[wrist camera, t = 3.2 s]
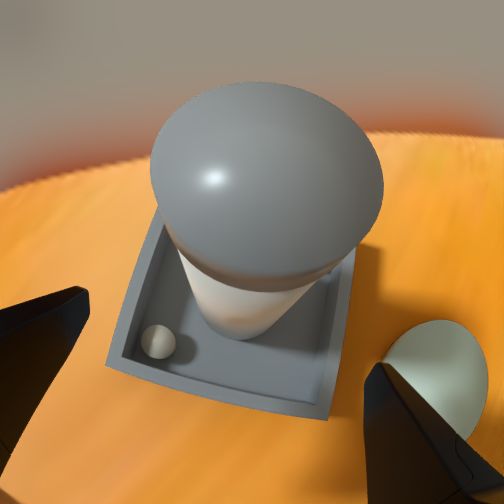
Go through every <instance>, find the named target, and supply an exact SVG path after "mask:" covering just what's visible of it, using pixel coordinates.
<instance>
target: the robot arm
mask: <svg viewBox="0 0 504 504" xmlns="http://www.w3.org/2000/svg"><path fill="white" fill-rule="evenodd" d="M89 315H90V303H89V292H88V290H87V289H85V288H82V287H79V286H73V287H70V288H67V289H64V290H61V291H57V292H54V293H51V294H48V295H45V296H42V297H38V298H35V299H32V300H29V301H26V302H23V303H20V304H17V305H13V306H10V307H7V308H4V309H1V310H0V477H1V474H2V472H3V470H4V468H5V466H6V464H7V462H8V460H9V458H10V456H11V454H12V452H13V450H14V448H15V446H16V444H17V442H18V441H19V439H20V437H21V435H22V433H23V431H24V430H25V428H26V426H27V424H28V422H29V421H30V419H31V417H32V415H33V414H34V412H35V410H36V408H37V407H38V405H39V403H40V401H41V400H42V398H43V396H44V395H45V393H46V391H47V390H48V388H49V387H50V385H51V383H52V382H53V380H54V378H55V377H56V375H57V374H58V372H59V370H60V369H61V367H62V366H63V364H64V363H65V361H66V359H67V358H68V356H69V355H70V353H71V351H72V349H73V347H74V345H75V343H76V341H77V339H78V337H79V335H80V333H81V331H82V329H83V328H84V326H85V324H86V322H87V320H88V318H89ZM363 429H364V442H365V456H366V472H367V495H368V504H504V477H503V476H502V475H501V474H500V473H499V472H498V471H497V470H496V469H494V468H493V467H492V466H491V465H490V464H489V463H488V462H487V461H485V460H484V459H483V458H482V457H481V456H480V455H479V454H478V453H477V452H476V451H475V450H473V449H472V448H471V447H470V446H469V445H468V443H467V442H466V441H465V440H464V439H463V438H462V437H461V436H460V435H459V434H458V433H456V431H455V430H454V429H453V428H452V427H451V426H450V425H449V424H448V423H447V422H446V421H445V420H444V419H443V418H442V416H441V415H440V414H439V413H438V412H437V411H436V410H435V409H434V408H433V407H432V406H431V405H430V404H429V403H428V402H427V401H426V400H425V399H424V398H423V397H422V396H421V395H420V394H419V393H418V392H417V391H416V390H415V389H414V388H413V387H412V386H411V385H410V384H409V383H408V382H407V381H406V380H405V379H404V377H403V376H402V375H401V374H400V373H399V372H398V371H397V370H396V369H395V368H394V367H393V366H392V365H391V364H389V363H384V362H378V363H376V364H375V366H374V367H373V369H372V370H371V372H370V374H369V375H368V377H367V379H366V380H365V383H364V418H363Z"/></svg>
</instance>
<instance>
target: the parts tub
mask: <svg viewBox="0 0 504 504" xmlns="http://www.w3.org/2000/svg"><path fill="white" fill-rule="evenodd" d="M355 252H356V247H355V248H354V249H353V250H352V251H351V252H350V253H349V254H348V255H347V256H346V257H345V258H344V259H343V260H342V261H341V262H340V263H339V264H338V265H337V266H336V267H335V268H334V269H332V270H331V271H330V272H329V273H328V274H326V275H325V276H323V277H321V278H320V279H318V280H317V281H316V282H315V283H314V284H313V285H312V286H311V287H310V288H309V289H308V290H307V291H306V292H305V293H304V294H303V295H302V296H301V297H300V298H299V299H298V300H297V301H296V302H295V303H294V304H293V305H292V306H291V307H290V308H289V309H288V310H287V311H286V312H285V313H284V314H283V315H282V316H281V317H280V318H279V319H278V320H277V321H276V322H275V323H274V324H273V325H272V326H271V327H270V328H269V329H268V330H267V331H265V332H264V333H263V334H261V335H259V336H257V337H254V338H251V339H247V340H233V339H229V338H225V337H223V336H221V335H219V334H217V333H216V332H214V331H213V330H212V329H211V328H210V327H209V326H208V325H207V324H206V322H205V321H204V319H203V317H202V315H201V313H200V310H199V307H198V305H197V302H196V299H195V297H194V294H193V291H192V289H191V286H190V283H189V280H188V278H187V275H186V272H185V269H184V266H183V263H182V261H181V258H180V255H179V252H178V249H177V247H176V246H175V244H174V243H173V241H172V239H171V237H170V235H169V233H168V231H167V229H166V226H165V223H164V220H163V217H162V215H161V212H160V209H159V206H158V207H157V210H156V212H155V215H154V217H153V220H152V222H151V225H150V227H149V230H148V233H147V235H146V238H145V241H144V243H143V246H142V249H141V252H140V254H139V257H138V260H137V263H136V266H135V269H134V271H133V274H132V277H131V280H130V283H129V286H128V289H127V292H126V295H125V299H124V302H123V305H122V308H121V311H120V315H119V318H118V321H117V325H116V328H115V331H114V335H113V338H112V342H111V346H110V349H109V353H108V357H107V360H106V364H105V366H107V367H110V368H113V369H115V370H118V371H121V372H123V373H126V374H129V375H132V376H135V377H137V378H140V379H143V380H146V381H149V382H152V383H156V384H159V385H162V386H165V387H168V388H172V389H175V390H178V391H182V392H185V393H189V394H193V395H196V396H200V397H204V398H208V399H212V400H216V401H220V402H224V403H228V404H233V405H237V406H242V407H246V408H251V409H256V410H261V411H266V412H272V413H277V414H283V415H289V416H296V417H302V418H309V419H317V420H325V421H328V416H329V412H330V408H331V403H332V399H333V394H334V389H335V384H336V379H337V374H338V369H339V364H340V359H341V353H342V347H343V342H344V336H345V329H346V323H347V317H348V310H349V303H350V295H351V288H352V280H353V271H354V262H355Z"/></svg>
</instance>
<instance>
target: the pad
mask: <svg viewBox="0 0 504 504" xmlns="http://www.w3.org/2000/svg"><path fill="white" fill-rule="evenodd" d="M381 362H384V363H389V364H391V365H392V366H393V367H394V368H395V369H396V370H397V371H398V372H399V373H400V374H401V375H402V376H403V377H404V379H405V380H406V381H407V382H408V383H409V384H410V385H411V386H412V387H413V388H414V389H415V390H416V391H417V392H418V393H419V394H420V395H421V396H422V397H423V398H424V399H425V400H426V401H427V402H428V403H429V404H430V405H431V406H432V407H433V408H434V409H435V410H436V411H437V412H438V413H439V414H440V415H441V416H442V418H443V419H444V420H445V421H446V422H447V423H448V424H449V425H450V426H451V427H452V428H453V429H454V430H455V431H456V433H458V434H459V435H460V436H461V437H462V438H463V439H464V440H465V441H466V440H467V439H468V438H469V436H470V435H471V433H472V432H473V430H474V429H475V427H476V425H477V423H478V421H479V419H480V417H481V414H482V412H483V409H484V405H485V402H486V396H487V389H488V373H487V365H486V361H485V357H484V354H483V351H482V349H481V347H480V345H479V343H478V342H477V340H476V339H475V337H474V336H473V335H472V334H471V333H470V332H469V331H468V330H467V329H466V328H465V327H463V326H462V325H460V324H458V323H456V322H453V321H449V320H433V321H429V322H426V323H423V324H419V325H417V326H415V327H413V328H411V329H409V330H408V331H406V332H405V333H404V334H402V335H401V336H400V337H399V338H398V339H397V340H396V341H395V342H394V343H393V344H392V346H391V347H390V348H389V350H388V351H387V353H386V354H385V356H384V358H383V359H382V361H381Z"/></svg>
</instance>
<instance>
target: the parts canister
mask: <svg viewBox="0 0 504 504" xmlns="http://www.w3.org/2000/svg"><path fill="white" fill-rule="evenodd" d="M150 175H151V183H152V187H153V190H154V194H155V197H156V200H157V203H158V206H159V209H160V212H161V215H162V217H163V220H164V223H165V226H166V229H167V231H168V233H169V235H170V237H171V239H172V241H173V243H174V244H175V246H176V247H177V249H178V252H179V255H180V258H181V261H182V263H183V266H184V269H185V272H186V275H187V278H188V280H189V283H190V286H191V289H192V291H193V294H194V297H195V299H196V302H197V305H198V307H199V310H200V313H201V315H202V317H203V319H204V321H205V322H206V324H207V325H208V326H209V327H210V328H211V329H212V330H213V331H214V332H216V333H217V334H219V335H221V336H223V337H225V338H229V339H233V340H247V339H251V338H254V337H257V336H259V335H261V334H263V333H264V332H265V331H267V330H268V329H269V328H270V327H271V326H272V325H273V324H274V323H275V322H276V321H277V320H278V319H279V318H280V317H281V316H282V315H283V314H284V313H285V312H286V311H287V310H288V309H289V308H290V307H291V306H292V305H293V304H294V303H295V302H296V301H297V300H298V299H299V298H300V297H301V296H302V295H303V294H304V293H305V292H306V291H307V290H308V289H309V288H310V287H311V286H312V285H313V284H314V283H315V282H316V281H317V280H318V279H320V278H321V277H323V276H325V275H326V274H328V273H329V272H330V271H331V270H332V269H334V268H335V267H336V266H337V265H338V264H339V263H340V262H341V261H342V260H343V259H344V258H345V257H346V256H347V255H348V254H349V253H350V252H351V251H352V250H353V249H354V248H355V247H356V246H357V245H358V244H359V243H360V242H361V240H362V239H363V238H364V237H365V236H366V235H367V233H368V232H369V231H370V229H371V228H372V226H373V224H374V223H375V221H376V219H377V217H378V214H379V211H380V209H381V205H382V200H383V190H384V182H383V174H382V169H381V165H380V161H379V159H378V156H377V154H376V151H375V149H374V147H373V146H372V144H371V142H370V140H369V139H368V137H367V136H366V135H365V133H364V132H363V131H362V129H361V128H360V127H359V126H358V125H357V124H356V123H355V122H354V121H353V120H352V119H351V118H350V117H349V116H348V115H347V114H345V112H343V111H342V110H341V109H339V108H338V107H336V106H335V105H333V104H332V103H330V102H328V101H327V100H325V99H323V98H321V97H319V96H317V95H315V94H313V93H310V92H308V91H305V90H302V89H299V88H296V87H292V86H288V85H284V84H277V83H268V82H244V83H235V84H230V85H225V86H221V87H218V88H215V89H212V90H209V91H207V92H204V93H203V94H200V95H198V96H197V97H195V98H193V99H191V100H189V101H188V102H187V103H185V104H184V105H183V106H181V107H180V108H179V109H178V110H177V111H176V112H175V113H173V114H172V115H171V117H170V118H169V119H168V120H167V121H166V123H165V124H164V126H163V127H162V129H161V131H160V132H159V134H158V136H157V138H156V141H155V143H154V146H153V150H152V154H151V161H150Z"/></svg>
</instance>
